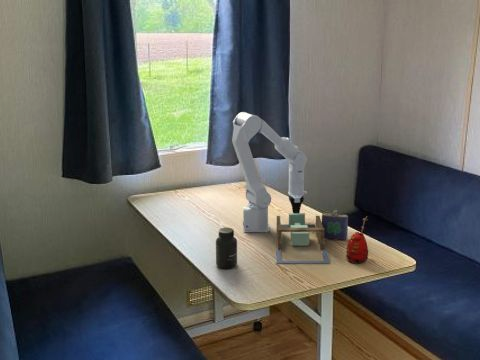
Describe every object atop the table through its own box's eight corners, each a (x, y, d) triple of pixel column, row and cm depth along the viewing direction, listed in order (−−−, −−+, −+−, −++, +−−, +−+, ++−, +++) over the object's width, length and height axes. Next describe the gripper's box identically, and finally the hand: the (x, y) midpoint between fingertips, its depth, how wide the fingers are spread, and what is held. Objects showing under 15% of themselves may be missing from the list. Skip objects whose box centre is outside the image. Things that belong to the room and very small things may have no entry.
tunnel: (277, 249, 182) (278, 229, 180) (276, 232, 197) (276, 213, 195) (324, 249, 181) (324, 229, 179) (319, 232, 197) (319, 213, 195)
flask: (347, 238, 191) (348, 210, 188) (346, 241, 188) (347, 212, 185) (321, 236, 193) (322, 208, 190) (320, 239, 191) (321, 210, 188)
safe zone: (276, 263, 171) (276, 262, 171) (275, 250, 181) (275, 249, 181) (330, 263, 171) (330, 262, 171) (326, 250, 181) (326, 249, 181)
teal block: (291, 245, 184) (291, 232, 183) (288, 225, 204) (288, 213, 202) (309, 245, 184) (309, 232, 183) (304, 224, 203) (304, 213, 202)
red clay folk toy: (344, 255, 177) (345, 212, 173) (365, 255, 177) (367, 212, 173) (347, 264, 170) (349, 220, 166) (370, 264, 169) (372, 220, 165)
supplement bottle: (235, 270, 167) (234, 234, 164) (213, 269, 168) (212, 233, 165) (239, 261, 174) (238, 226, 170) (219, 260, 175) (217, 225, 172)
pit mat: (278, 230, 199) (278, 230, 199) (278, 225, 204) (278, 224, 204) (316, 230, 198) (316, 230, 198) (314, 225, 204) (314, 224, 204)
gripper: (308, 186, 196) (307, 221, 200) (305, 175, 210) (304, 208, 214) (289, 186, 197) (289, 221, 200) (287, 175, 211) (287, 208, 214)
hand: (296, 214), depth 207 cm, fingers closed
